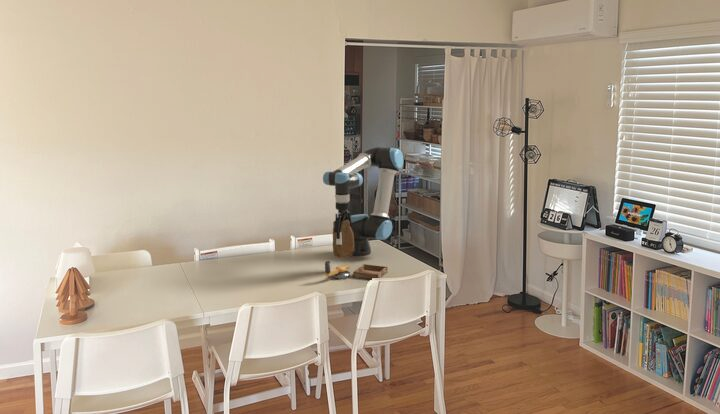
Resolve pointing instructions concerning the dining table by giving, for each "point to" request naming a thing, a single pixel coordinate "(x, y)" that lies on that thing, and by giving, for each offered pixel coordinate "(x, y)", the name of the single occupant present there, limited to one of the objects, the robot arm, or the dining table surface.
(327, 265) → the crank
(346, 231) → the block
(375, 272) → the tray
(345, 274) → the crank base
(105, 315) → the dining table surface
